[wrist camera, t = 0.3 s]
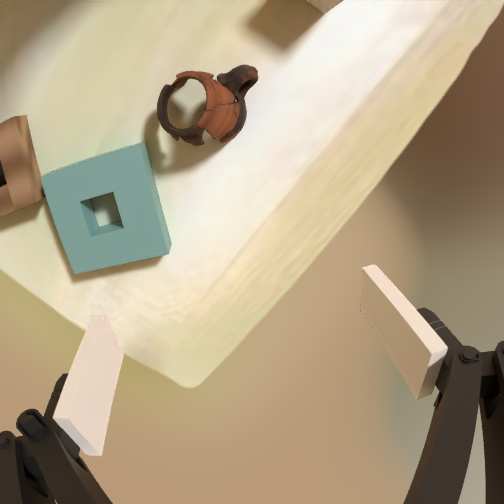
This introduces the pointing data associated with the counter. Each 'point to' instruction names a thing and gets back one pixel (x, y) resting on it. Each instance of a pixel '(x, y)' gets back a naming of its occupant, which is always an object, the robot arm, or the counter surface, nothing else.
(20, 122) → the pin mount
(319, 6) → the white box
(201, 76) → the brown ring with knob
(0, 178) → the pin
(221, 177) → the counter surface
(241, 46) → the counter surface
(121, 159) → the dock socket
